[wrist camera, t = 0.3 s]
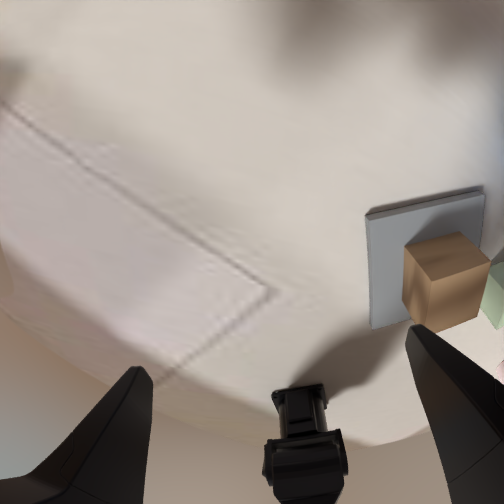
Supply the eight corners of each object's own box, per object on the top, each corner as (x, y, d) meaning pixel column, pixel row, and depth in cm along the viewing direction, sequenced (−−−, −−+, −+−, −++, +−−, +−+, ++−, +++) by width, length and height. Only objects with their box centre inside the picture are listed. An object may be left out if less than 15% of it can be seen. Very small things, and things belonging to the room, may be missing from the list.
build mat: (464, 292, 26) (469, 298, 25) (369, 323, 28) (372, 330, 27) (478, 190, 20) (485, 194, 19) (364, 215, 22) (369, 220, 21)
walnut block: (452, 284, 24) (476, 316, 20) (401, 300, 25) (422, 337, 21) (459, 231, 21) (491, 261, 17) (404, 245, 22) (431, 281, 18)
